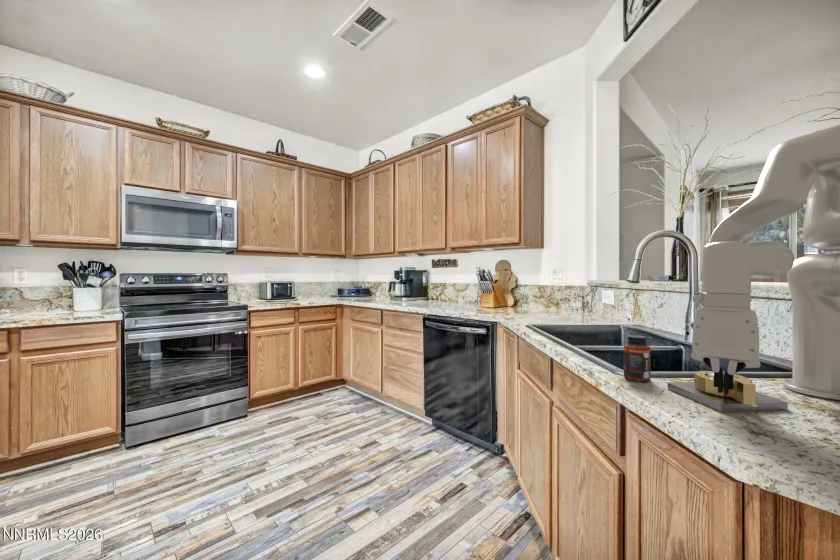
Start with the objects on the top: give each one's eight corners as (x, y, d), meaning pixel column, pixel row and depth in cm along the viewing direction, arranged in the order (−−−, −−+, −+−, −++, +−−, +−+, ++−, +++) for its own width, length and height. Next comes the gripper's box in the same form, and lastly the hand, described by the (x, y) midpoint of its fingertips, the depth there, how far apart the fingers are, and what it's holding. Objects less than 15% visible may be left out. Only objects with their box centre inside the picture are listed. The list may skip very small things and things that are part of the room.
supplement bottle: (654, 383, 87) (654, 338, 87) (628, 382, 89) (628, 337, 88) (644, 376, 93) (644, 334, 93) (620, 375, 94) (620, 334, 94)
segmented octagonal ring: (688, 382, 82) (688, 366, 82) (732, 385, 80) (733, 367, 80) (722, 402, 69) (722, 382, 69) (777, 406, 67) (777, 385, 67)
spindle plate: (723, 387, 84) (723, 365, 84) (796, 412, 68) (796, 386, 68) (667, 388, 83) (667, 367, 83) (727, 414, 68) (727, 388, 67)
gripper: (677, 300, 73) (675, 387, 73) (778, 305, 63) (776, 406, 63) (682, 299, 79) (680, 380, 79) (776, 303, 68) (774, 396, 68)
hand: (723, 391), depth 71 cm, fingers closed
